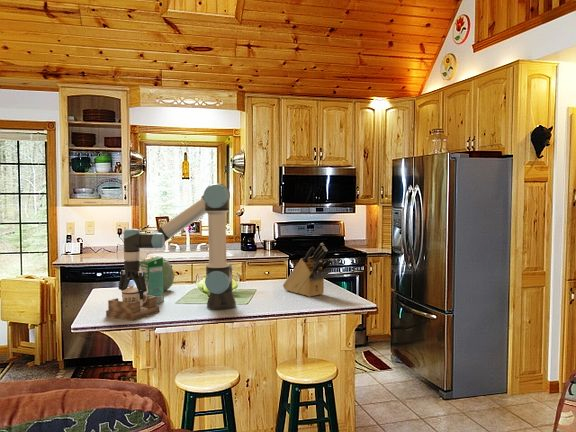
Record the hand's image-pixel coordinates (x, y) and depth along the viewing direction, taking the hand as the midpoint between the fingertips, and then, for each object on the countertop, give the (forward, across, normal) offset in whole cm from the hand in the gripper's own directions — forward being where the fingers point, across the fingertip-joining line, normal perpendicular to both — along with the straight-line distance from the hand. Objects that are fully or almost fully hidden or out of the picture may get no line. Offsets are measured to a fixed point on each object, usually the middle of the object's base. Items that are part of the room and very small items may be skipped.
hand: (132, 304), depth 250 cm
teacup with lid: (+2, -1, 0) cm, 2 cm away
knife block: (+5, -58, -82) cm, 100 cm away
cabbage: (+5, +26, -51) cm, 58 cm away
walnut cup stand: (+5, 0, 0) cm, 5 cm away
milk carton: (+5, +11, -26) cm, 29 cm away
